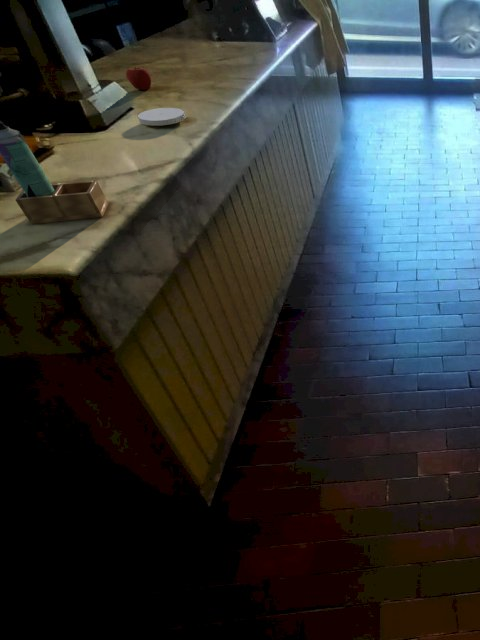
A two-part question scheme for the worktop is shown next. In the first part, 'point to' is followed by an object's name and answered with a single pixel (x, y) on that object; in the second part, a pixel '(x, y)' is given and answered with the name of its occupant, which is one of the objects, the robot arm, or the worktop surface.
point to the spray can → (23, 163)
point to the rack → (65, 203)
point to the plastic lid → (161, 116)
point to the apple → (139, 78)
